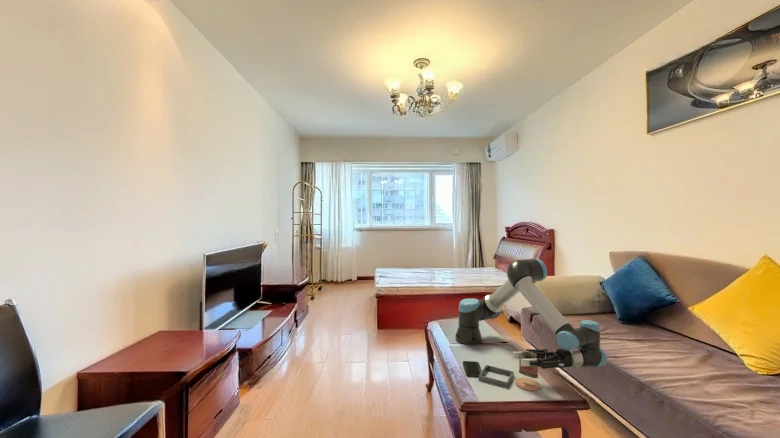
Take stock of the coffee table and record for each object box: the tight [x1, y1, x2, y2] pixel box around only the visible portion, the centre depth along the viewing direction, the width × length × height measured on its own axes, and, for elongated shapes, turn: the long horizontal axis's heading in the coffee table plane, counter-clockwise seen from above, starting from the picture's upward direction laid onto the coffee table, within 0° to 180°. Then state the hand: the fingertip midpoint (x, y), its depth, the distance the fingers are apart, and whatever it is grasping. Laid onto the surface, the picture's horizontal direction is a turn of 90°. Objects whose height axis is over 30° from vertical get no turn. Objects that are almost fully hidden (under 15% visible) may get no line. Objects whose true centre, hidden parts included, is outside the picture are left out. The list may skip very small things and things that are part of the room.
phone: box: [462, 360, 483, 379], centre depth 158 cm, size 8×1×15 cm
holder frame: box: [478, 364, 515, 389], centre depth 150 cm, size 13×13×2 cm
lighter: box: [518, 350, 539, 379], centre depth 144 cm, size 8×3×10 cm, turn 44°
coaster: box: [514, 377, 541, 392], centre depth 145 cm, size 10×10×1 cm
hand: (517, 358), depth 144 cm, fingers closed on lighter, 7 cm apart
